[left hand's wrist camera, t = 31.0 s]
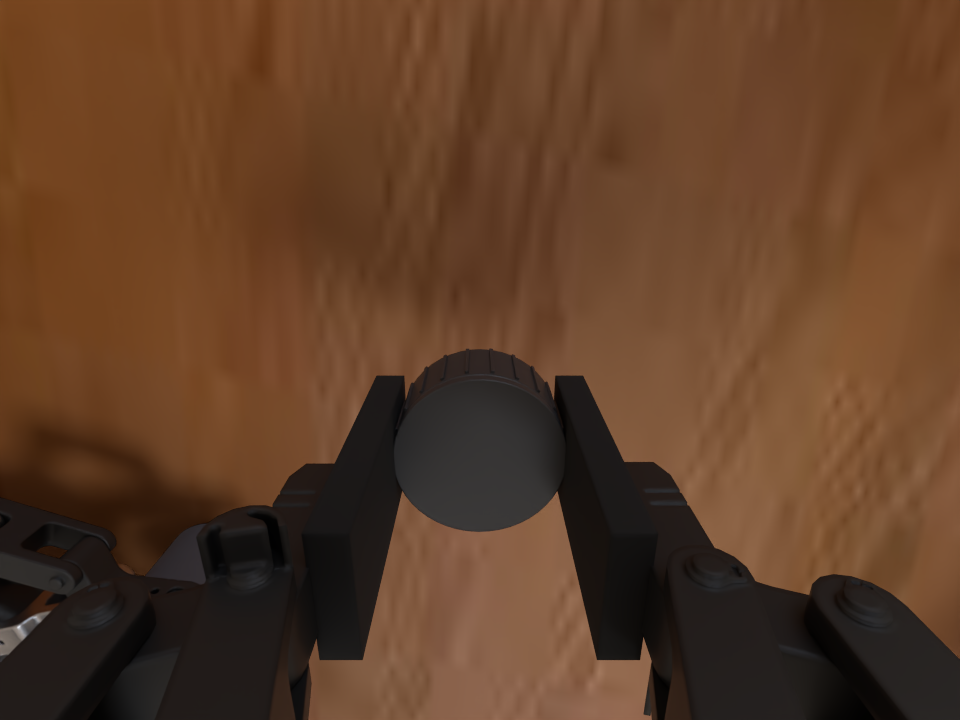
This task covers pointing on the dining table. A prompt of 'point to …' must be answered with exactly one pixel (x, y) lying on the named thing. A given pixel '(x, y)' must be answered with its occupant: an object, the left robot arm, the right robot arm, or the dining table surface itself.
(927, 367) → the dining table surface
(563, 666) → the dining table surface
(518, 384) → the cap
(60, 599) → the right robot arm
